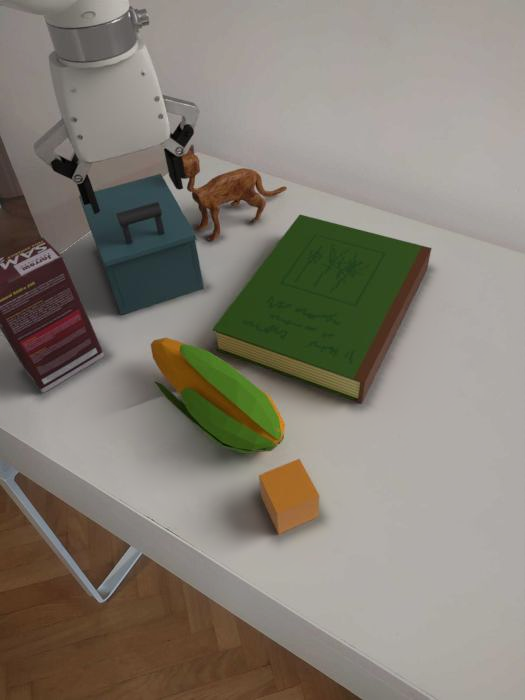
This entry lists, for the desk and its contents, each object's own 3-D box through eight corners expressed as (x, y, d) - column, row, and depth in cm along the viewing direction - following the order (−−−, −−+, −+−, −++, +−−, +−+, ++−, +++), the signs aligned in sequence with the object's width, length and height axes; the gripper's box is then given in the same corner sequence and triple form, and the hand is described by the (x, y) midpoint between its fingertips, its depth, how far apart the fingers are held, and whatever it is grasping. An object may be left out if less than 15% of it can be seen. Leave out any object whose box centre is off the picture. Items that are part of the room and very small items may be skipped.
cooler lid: (196, 239, 70) (190, 204, 66) (105, 267, 68) (93, 232, 64) (161, 178, 79) (154, 145, 76) (80, 200, 77) (68, 167, 73)
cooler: (203, 288, 77) (194, 236, 71) (121, 315, 75) (103, 263, 68) (172, 229, 86) (161, 178, 80) (98, 252, 84) (80, 201, 77)
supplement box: (86, 336, 72) (43, 234, 61) (106, 357, 70) (64, 255, 58) (23, 372, 69) (-36, 271, 57) (41, 396, 66) (-17, 296, 55)
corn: (248, 443, 52) (117, 335, 61) (250, 487, 57) (129, 381, 67) (303, 396, 55) (170, 302, 65) (300, 442, 61) (178, 349, 71)
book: (362, 403, 63) (364, 382, 60) (215, 350, 70) (212, 329, 67) (428, 266, 77) (433, 244, 75) (302, 233, 84) (301, 211, 81)
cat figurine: (274, 185, 92) (270, 101, 82) (300, 203, 89) (299, 118, 78) (179, 231, 86) (161, 146, 76) (202, 252, 82) (188, 166, 72)
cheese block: (278, 534, 54) (276, 513, 51) (261, 497, 57) (258, 474, 53) (318, 517, 55) (319, 495, 52) (299, 481, 57) (299, 458, 54)
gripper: (171, 2, 56) (197, 159, 69) (-7, 41, 53) (55, 199, 66) (196, 28, 52) (218, 191, 65) (1, 72, 48) (66, 235, 61)
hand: (136, 195), depth 65 cm, fingers open, 9 cm apart
